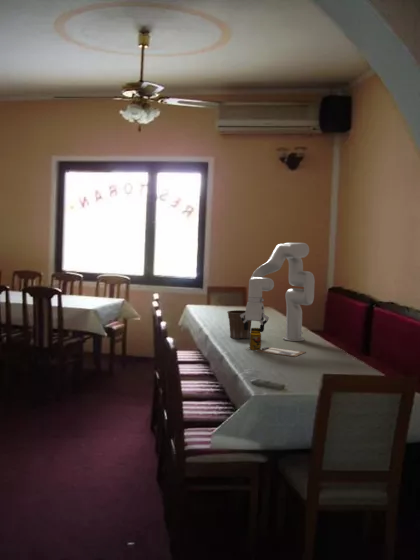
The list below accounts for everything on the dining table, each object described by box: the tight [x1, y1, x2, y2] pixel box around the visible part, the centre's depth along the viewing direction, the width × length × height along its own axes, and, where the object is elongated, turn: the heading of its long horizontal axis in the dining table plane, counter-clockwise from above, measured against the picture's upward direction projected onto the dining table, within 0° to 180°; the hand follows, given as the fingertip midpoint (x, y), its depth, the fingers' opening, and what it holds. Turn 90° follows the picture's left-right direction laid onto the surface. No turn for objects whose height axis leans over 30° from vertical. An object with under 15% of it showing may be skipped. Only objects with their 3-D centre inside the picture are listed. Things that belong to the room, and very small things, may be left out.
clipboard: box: [257, 346, 307, 358], centre depth 311 cm, size 15×22×1 cm
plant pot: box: [226, 309, 252, 340], centre depth 354 cm, size 16×16×16 cm
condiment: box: [246, 327, 262, 352], centre depth 318 cm, size 7×8×12 cm
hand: (253, 330), depth 317 cm, fingers open, 9 cm apart
